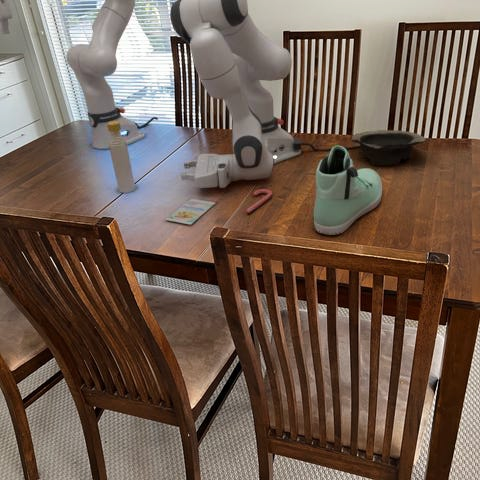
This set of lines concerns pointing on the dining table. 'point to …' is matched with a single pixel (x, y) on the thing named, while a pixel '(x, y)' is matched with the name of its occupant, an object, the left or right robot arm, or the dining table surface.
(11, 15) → the left robot arm
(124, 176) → the bottle
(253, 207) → the candy cane
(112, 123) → the cap
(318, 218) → the sneaker
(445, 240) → the dining table surface
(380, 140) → the stone bowl
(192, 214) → the baking ingredient package
